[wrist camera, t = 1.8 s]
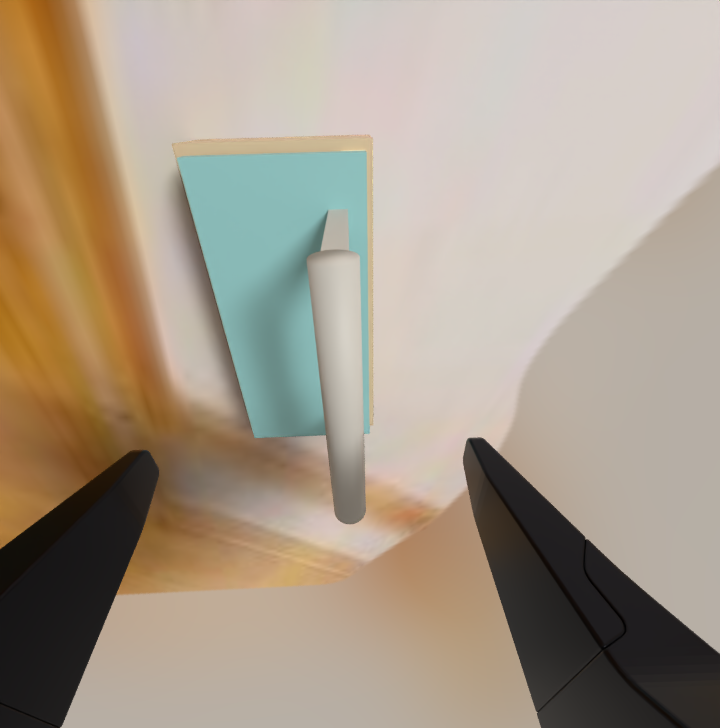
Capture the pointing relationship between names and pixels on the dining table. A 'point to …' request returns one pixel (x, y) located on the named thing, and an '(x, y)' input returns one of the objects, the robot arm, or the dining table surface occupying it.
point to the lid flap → (293, 295)
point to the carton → (294, 147)
